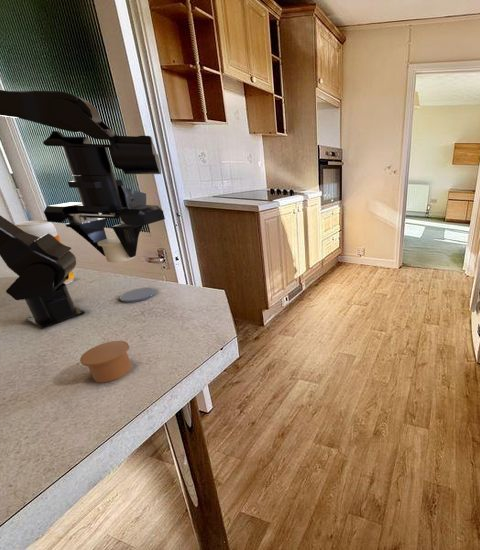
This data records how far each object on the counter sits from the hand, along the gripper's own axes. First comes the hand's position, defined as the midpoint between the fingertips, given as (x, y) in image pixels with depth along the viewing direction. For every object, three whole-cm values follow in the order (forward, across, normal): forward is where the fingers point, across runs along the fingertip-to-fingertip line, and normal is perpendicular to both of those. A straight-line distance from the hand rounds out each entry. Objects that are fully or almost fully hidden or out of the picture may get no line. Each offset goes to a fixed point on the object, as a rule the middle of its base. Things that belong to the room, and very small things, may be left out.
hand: (120, 256), depth 58 cm
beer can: (+11, +26, -8) cm, 30 cm away
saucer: (+11, +2, -4) cm, 12 cm away
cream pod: (0, 0, 0) cm, 1 cm away
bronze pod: (+11, -13, +20) cm, 26 cm away
